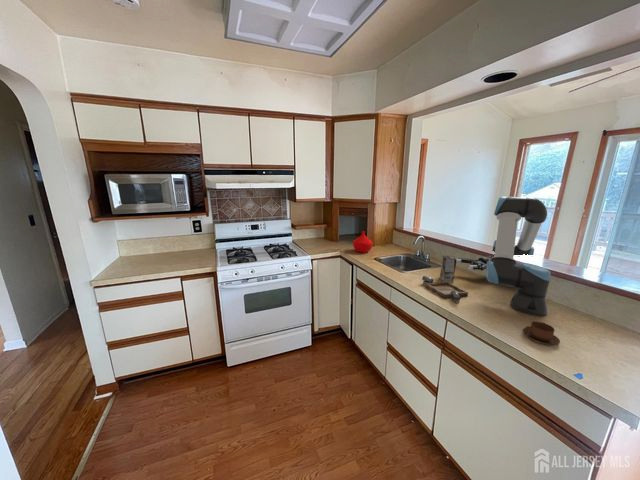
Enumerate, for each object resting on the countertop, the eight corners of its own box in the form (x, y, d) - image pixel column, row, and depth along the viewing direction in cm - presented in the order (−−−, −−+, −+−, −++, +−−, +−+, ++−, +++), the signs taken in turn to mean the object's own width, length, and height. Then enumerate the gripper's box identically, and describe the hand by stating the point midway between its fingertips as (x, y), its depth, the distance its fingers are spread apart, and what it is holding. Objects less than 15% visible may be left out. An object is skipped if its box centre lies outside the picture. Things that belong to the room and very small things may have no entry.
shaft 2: (449, 298, 142) (451, 290, 141) (455, 298, 142) (456, 290, 140) (454, 303, 136) (455, 295, 135) (460, 303, 136) (461, 295, 135)
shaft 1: (432, 285, 159) (433, 278, 158) (430, 286, 158) (431, 279, 157) (424, 282, 164) (425, 275, 163) (421, 283, 162) (422, 276, 161)
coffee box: (453, 283, 164) (457, 259, 161) (442, 282, 166) (446, 258, 162) (449, 278, 173) (452, 255, 170) (439, 277, 174) (442, 255, 171)
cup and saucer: (539, 348, 100) (543, 335, 98) (514, 331, 111) (517, 318, 110) (567, 347, 101) (571, 334, 99) (539, 330, 112) (542, 318, 111)
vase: (374, 253, 229) (376, 233, 224) (355, 254, 226) (356, 233, 222) (368, 248, 246) (369, 229, 242) (350, 249, 244) (351, 229, 240)
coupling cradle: (467, 296, 145) (468, 292, 145) (444, 298, 141) (444, 294, 141) (447, 285, 160) (447, 281, 160) (425, 287, 156) (426, 283, 156)
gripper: (501, 274, 164) (474, 276, 159) (470, 262, 188) (446, 264, 182) (503, 263, 162) (476, 265, 157) (471, 252, 186) (447, 254, 181)
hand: (460, 264), depth 170 cm, fingers open, 13 cm apart
